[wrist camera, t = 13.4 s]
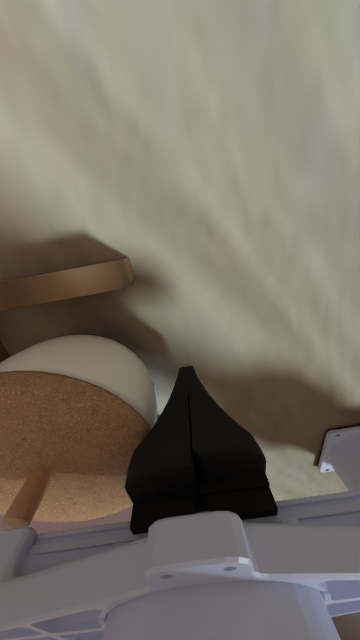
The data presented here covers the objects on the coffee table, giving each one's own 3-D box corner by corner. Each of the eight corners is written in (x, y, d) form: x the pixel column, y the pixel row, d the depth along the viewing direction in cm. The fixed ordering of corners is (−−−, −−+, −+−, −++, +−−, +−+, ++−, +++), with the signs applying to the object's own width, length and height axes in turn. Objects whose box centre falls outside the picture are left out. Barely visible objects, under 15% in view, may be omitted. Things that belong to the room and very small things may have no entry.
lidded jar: (69, 417, 18) (-29, 580, 9) (13, 323, 13) (-272, 463, 5) (172, 402, 17) (172, 556, 9) (148, 301, 13) (102, 408, 4)
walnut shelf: (128, 257, 12) (115, 260, 9) (175, 428, 19) (175, 459, 16) (-57, 291, 12) (-124, 305, 9) (57, 446, 19) (38, 479, 17)
